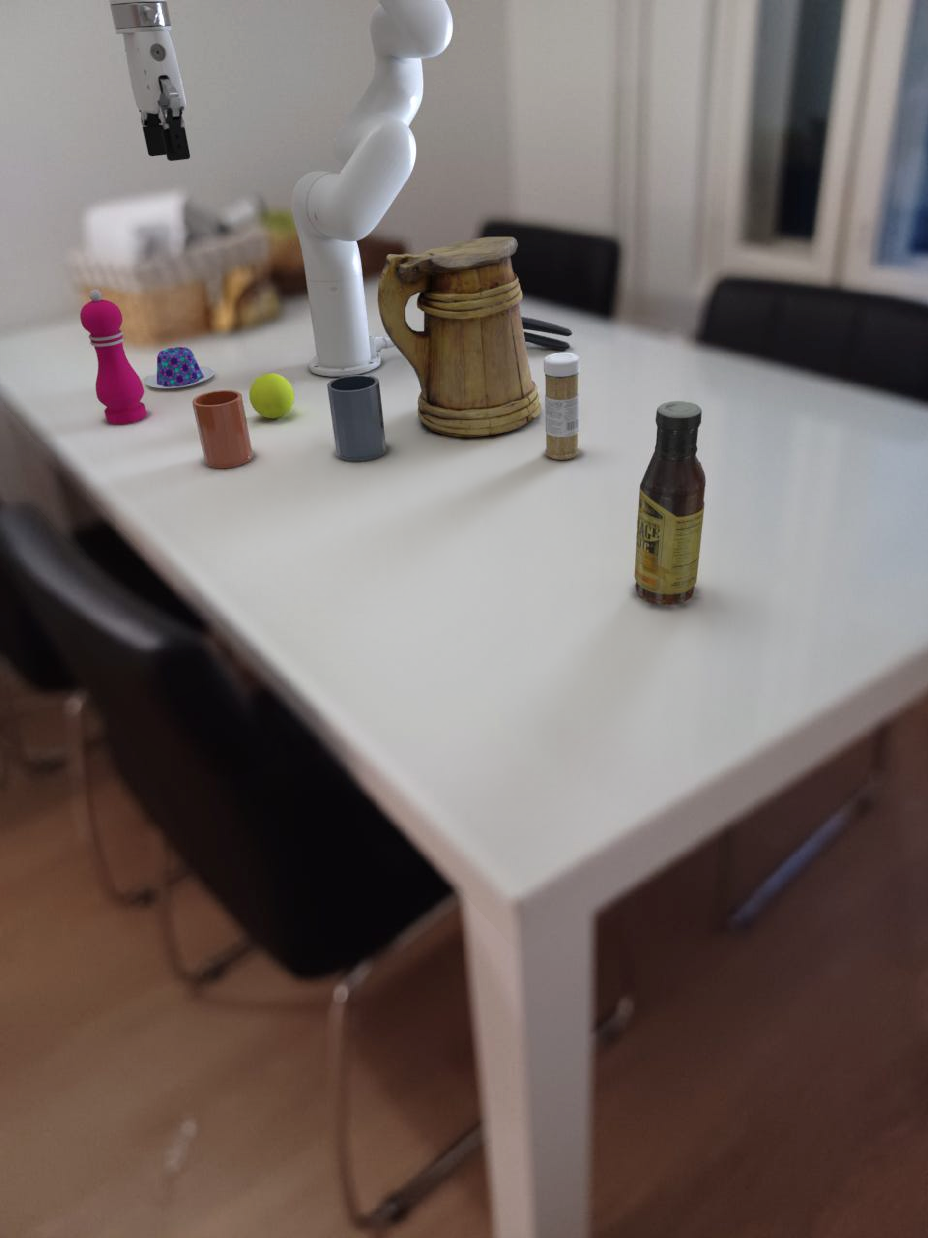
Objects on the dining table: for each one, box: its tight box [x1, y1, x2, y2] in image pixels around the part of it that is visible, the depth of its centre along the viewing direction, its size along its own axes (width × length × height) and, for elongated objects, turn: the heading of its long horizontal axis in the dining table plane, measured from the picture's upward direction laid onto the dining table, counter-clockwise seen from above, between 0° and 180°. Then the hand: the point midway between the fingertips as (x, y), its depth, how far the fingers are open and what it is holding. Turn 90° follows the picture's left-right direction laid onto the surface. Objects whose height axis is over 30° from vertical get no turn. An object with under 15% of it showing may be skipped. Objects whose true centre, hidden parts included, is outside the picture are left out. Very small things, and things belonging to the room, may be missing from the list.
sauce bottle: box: [633, 400, 707, 606], centre depth 92 cm, size 7×6×20 cm
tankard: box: [377, 236, 542, 438], centre depth 137 cm, size 18×24×25 cm
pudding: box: [144, 346, 215, 389], centre depth 167 cm, size 12×12×5 cm
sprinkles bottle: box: [543, 352, 580, 461], centre depth 126 cm, size 5×5×13 cm
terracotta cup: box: [191, 389, 254, 469], centre depth 133 cm, size 7×7×9 cm
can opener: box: [521, 316, 573, 351], centre depth 172 cm, size 18×7×6 cm, turn 58°
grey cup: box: [326, 374, 387, 463], centre depth 132 cm, size 7×7×10 cm
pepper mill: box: [79, 289, 148, 426], centre depth 148 cm, size 7×7×20 cm
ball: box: [248, 372, 295, 419], centre depth 148 cm, size 7×7×7 cm
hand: (169, 157), depth 140 cm, fingers open, 9 cm apart
